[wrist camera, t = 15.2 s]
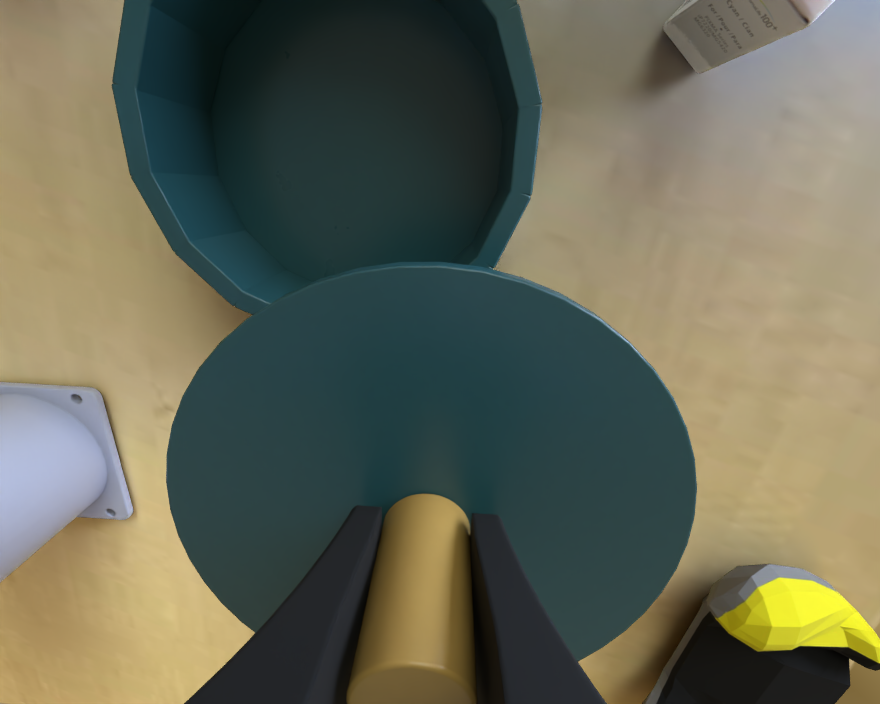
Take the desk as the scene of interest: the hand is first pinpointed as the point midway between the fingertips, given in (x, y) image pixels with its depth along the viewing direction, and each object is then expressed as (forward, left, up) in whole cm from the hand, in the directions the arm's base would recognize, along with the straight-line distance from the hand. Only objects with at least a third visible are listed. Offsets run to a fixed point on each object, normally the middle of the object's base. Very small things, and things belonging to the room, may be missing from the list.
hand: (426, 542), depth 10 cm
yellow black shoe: (+17, -16, -11) cm, 26 cm away
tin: (-4, +9, -10) cm, 14 cm away
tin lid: (0, 0, -1) cm, 1 cm away
